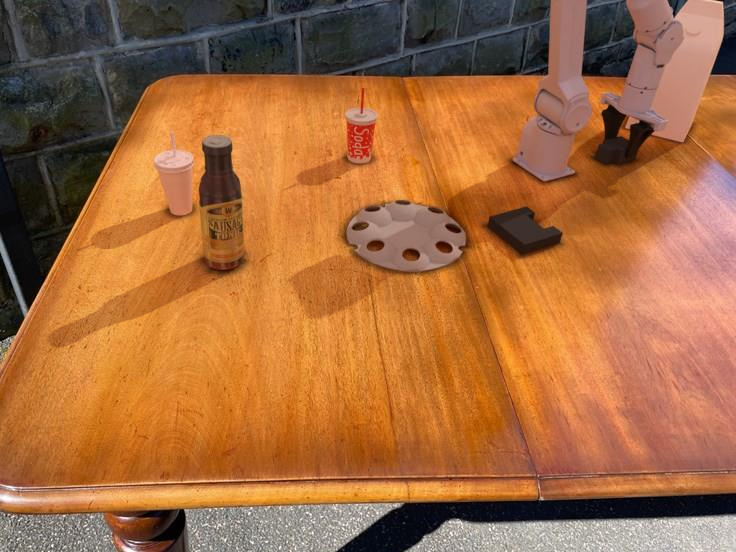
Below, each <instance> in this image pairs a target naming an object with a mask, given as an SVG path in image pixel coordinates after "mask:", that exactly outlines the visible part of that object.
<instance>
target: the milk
mask: <svg viewBox="0 0 736 552" xmlns="http://www.w3.org/2000/svg"><path fill="white" fill-rule="evenodd" d="M724 13H725V11H724V2H723V1H719V0H687V1H686V2H685V3H684V5H683V6H682V7H681V8H680V9H679V11H678V12H677V13H676V15H675V17H673V18H674V19H675V20H677V21H679V22H680V23H681V24H682V27H683V31H684V33H683V36H684V40H683V42H682V43H681V45H680V46H679V47H678V49H677V50H676V51H675V52H674V53H673V56H672V58H671V60H670V61H669V63H667V64H666V66H665V69H664V72H663V75H662V77H661V80H660V83H659V86H658V88H657V91H656V94H655V97H654V100H653V102H652V107H651V108H652V109H653V110H654V111H655V112H657V113H658V114H659V115H660V116H662V117H663V118H665V119H666V120H668V122H667V125H666V127H665V130H662V131H658V132H657V131H655V132H653V133H652V134H651V135H650V136H655V137H659V138H663V139H667V140H671V141H675V142H679V143H684V142H685V139H686V138H687V135H688V133H689V131H690V129H691V127H692V125H693V122H694V120H695V117H696V114H697V112H698V108H699V105H700V103H701V100H702V97H703V95H704V92H705V89H706V87H707V84H708V81H709V78H710V76H711V74H712V70H713V67H714V65H715V62H716V60H717V56H718V54H719V51H720V48H721V45H722V42H723V40H724V39H723V38H724V32H725V16H724V15H725V14H724ZM635 123H639V121H638V120H636V119H634V118H632V117H630V116H628V119H627V121H626V124H625V127H624V128H625V129H627V130H630V125H631V124H635Z"/></svg>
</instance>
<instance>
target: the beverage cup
mask: <svg viewBox="0 0 736 552" xmlns="http://www.w3.org/2000/svg"><path fill="white" fill-rule="evenodd" d="M364 100H365V87H361V93H360V107H354V108H351V109H348V110H346V112H345V114H344V116H345V117H344V119H345V120H346V152H347V153H346V154H347V155H346V156H347V160H348V161H350V162H351V163H353V164H358V165H359V164H366V163H369V162H370V161H371V159H372V151H373V145H374V137H375V130H376V124H377V121H378V116H379V115H378V112H376V111H375V110H373V109H370V108H366V107H364V103H365V101H364Z"/></svg>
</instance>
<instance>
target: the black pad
mask: <svg viewBox="0 0 736 552" xmlns="http://www.w3.org/2000/svg"><path fill="white" fill-rule="evenodd" d="M535 215H536V212H535V211H534V210H533V209H531V208H530V207H528V206H521V207H519V208H514V209H512V210H508V211H504V212H501V213H498V214H494V215H490V216H489V217H488V221H487V228H488V229H489V230H491V231H492V232H493V233H494V234H496V235H497V236H498V237H499V238H500V239H502V240H503V241H504V242H506V243H507V244H508V245H509V246H511V248H513V249H514V250H515V251H516V252H518V253H519V254H520V255H526V254H529V253H532V252H536V251H538V250H542V249H544V248H545V249H546V248H547V247H551V246H554V245H558V244H560V243H561V242H562V241H561V240H562V237H563V234H564V232H563V231H561V230H560V229H559V228H557V227H556V226H554V225H551V226H549V227H545V228H544V227H543V226H541V224H539V223H538V222H536V221H535V220H534V219H535Z"/></svg>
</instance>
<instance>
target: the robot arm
mask: <svg viewBox="0 0 736 552" xmlns="http://www.w3.org/2000/svg"><path fill="white" fill-rule="evenodd" d="M625 4H626V7H627V10H628V12H629V14H630V16H631V19H632V21H633V24H634V29H633V34H632V38H633V40H634V41H635V42H636V43H637V46H636V49H635V51H634V52H635V53H634V55H633V59H632V62H631V64H630V68H629V71H628V74H627V77H626V79H625V82H624V86H623V89H622V91H621V95H618V94H615V93H613V92H611V91H609V92H604V93H602V94H601V98H600V101H599V104H600V105H607V107H606V108H605V109H602V110H601V113H600V114H601V117H602V121H603V127H604V136H603V138H604V139H603V140H606V139H611V138H615V137H618V135H619V132H620V130H621V127H622V126H623V123H624V121H625V119H626V118H627V116H628V117H632V118H634V119H636V120H638V121H639V123H635V124H631V125H630V129H629V137H628V140H629V142H628V145H627V148H626V152H625V157H626V158H629V157H633V156H635V154H636V152H637V151H638V152H639V150H640V148H641V147H642V145H643V144H644V143H645V142H646V141H647V140H648V138H650V137H651V136H652V135H651V134H652V133H653V132H655V131H657V132H658V131H662V130H665V127H666V125H667V122H668V120H666V119H665V118H663V117H662V116H660V115H659V114H658V113H657V112H655V111H654V110H653V109H652V108H651V107H652V102H653V100H654V97H655V94H656V91H657V88H658V86H659V83H660V80H661V77H662V75H663V72H664V69H665V66H666V64H667V63H669V61H670V60H671V58H672V56H673V53H674V52H675V51H676V50H677V49H678V47H679V46H680V45H681V43H682V42H683V40H684V36H683V33H684V31H683V27H682V24H681V23H680V22H679V21H677V20H675V19H674V18H675V17H674V15H673V13H674V9H673V7H672V6H670V4H669V1H668V0H625ZM587 6H588V0H550V11H549V12H550V13H549V14H550V15H549V40H548V41H549V42H548V71H547V74H546V75H545V76H544V77H542V78H541V79H539V80H538V83H537V91H536V94H535V96H534V99H533V105H532V106H533V109H534V112H535V113H536V115H535V116H533V117H532V118H530V119H529V120H528V121H526V123H525V125H524V126H523V128H522V131H521V134H520V139H519V144H518V149H517V151H516V157H513V158H512V162H514V163H515V164H517V165H518V166H519V167H521V168H523V169H524V170H525V171H527V172H528V173H530V174H532V175H533V176H534V177H536V178H537V179H538V180H540V181H542V182H548V181H552V180H553V181H554V180H556V179H561V178H563V177H567V176H571V175H574V174H575V173H576V171H575V169H573V168H571V167H570V166H568V162H569V158H570V156H571V153H572V148H573V145H574V143H575V138H576V136H577V135H576V134H578V133H580V131H582V130H583V129H585V127H586V126H587V124H588V123H589V122H590V119H591V117H592V114H593V106H592V103H591V102H590V101H591V100H590V90H589V88H588V86H587V85H586V82H585V80H584V79H583V76H582V73H583V72H582V71H583V58H584V44H585V31H586V20H587V19H586V17H587ZM638 149H639V150H638Z"/></svg>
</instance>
